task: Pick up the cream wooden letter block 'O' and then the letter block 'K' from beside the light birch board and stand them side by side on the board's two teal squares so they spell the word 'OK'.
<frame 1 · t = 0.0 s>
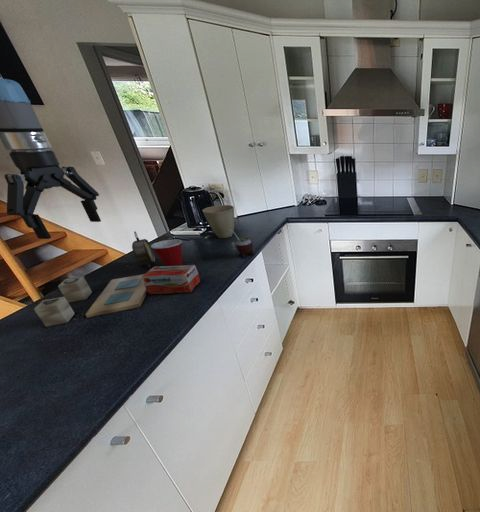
hand: (72, 229, 78), 30 cm above the worktop, tool pointing down, fingers open, 13 cm apart
word board: (125, 293, 102), on the worktop
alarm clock: (148, 265, 122), on the worktop
medicine box: (175, 288, 106), on the worktop
plastic cup: (175, 267, 121), on the worktop
plant pot: (225, 236, 154), on the worktop
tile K: (60, 320, 88), on the worktop
mate gourd: (245, 255, 133), on the worktop
tile O: (80, 297, 100), on the worktop
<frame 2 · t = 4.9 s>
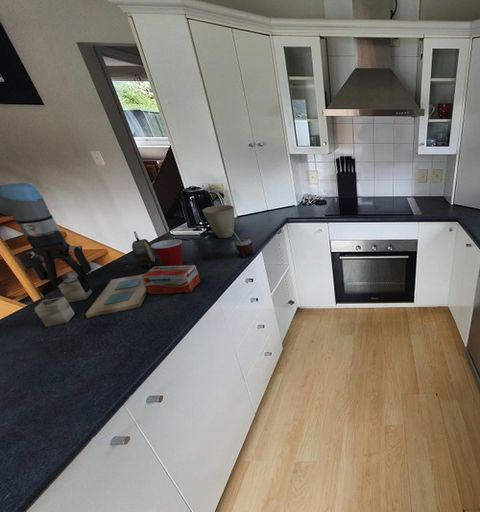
hand: (77, 292, 99), 2 cm above the worktop, tool pointing down, fingers closed on tile O, 5 cm apart
tile O: (80, 297, 100), on the worktop, touching gripper
everything else where it was.
when the fingers open (4 cm above the worktop, at t = 10.6 s): tile O stays where it is, resting on word board.
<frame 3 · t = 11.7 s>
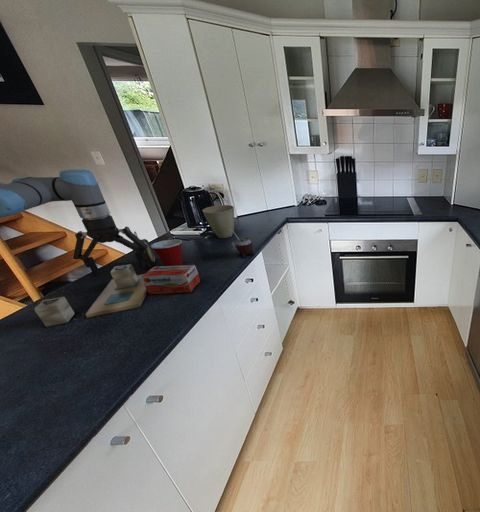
hand: (121, 270, 103), 7 cm above the worktop, tool pointing down, fingers open, 13 cm apart
tile O: (128, 283, 105), point 2 cm above the worktop, touching word board
everything else where it was.
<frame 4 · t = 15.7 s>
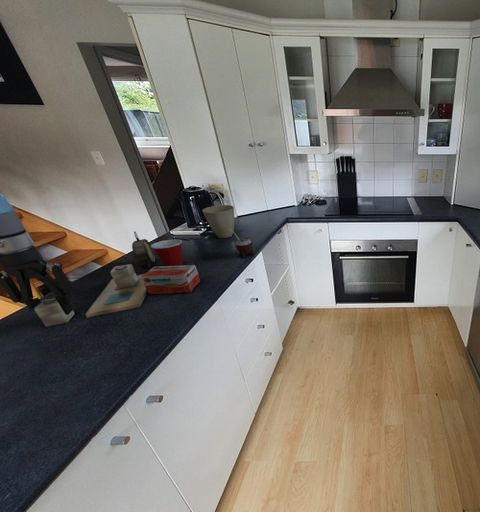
hand: (57, 314, 87), 2 cm above the worktop, tool pointing down, fingers closed on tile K, 5 cm apart
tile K: (60, 320, 88), on the worktop, touching gripper
everything else where it was.
when the fingers open (4 cm above the worktop, at t = 21.7 s): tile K stays where it is, resting on word board.
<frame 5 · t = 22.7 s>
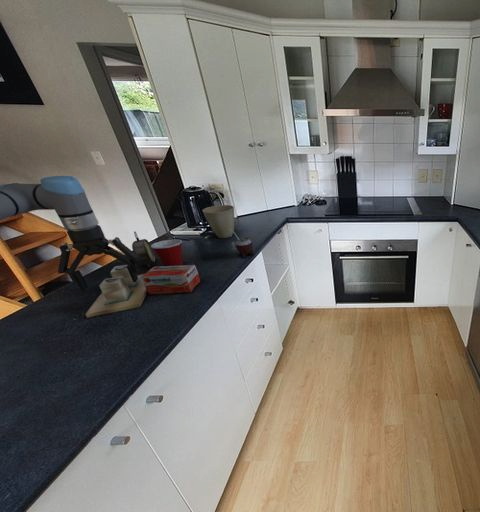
hand: (111, 284, 95), 7 cm above the worktop, tool pointing down, fingers open, 13 cm apart
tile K: (119, 297, 97), point 2 cm above the worktop, touching word board
everything else where it was.
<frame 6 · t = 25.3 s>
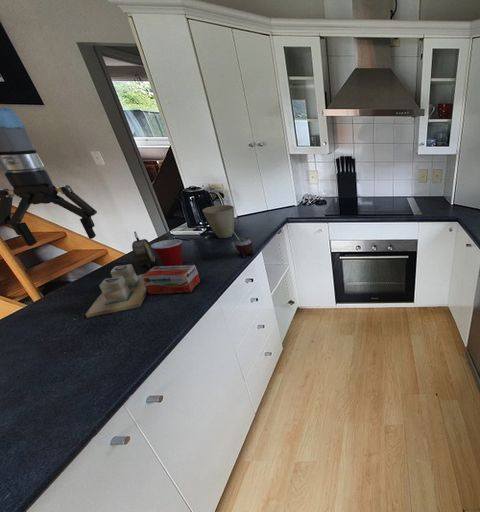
hand: (63, 240, 85), 25 cm above the worktop, tool pointing down, fingers open, 13 cm apart
nothing on the worktop moved.
at the end: tile O 0.1 cm from the target spot, point 1.6 cm above the worktop; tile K 0.1 cm from the target spot, point 1.6 cm above the worktop; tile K tilted 0° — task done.
